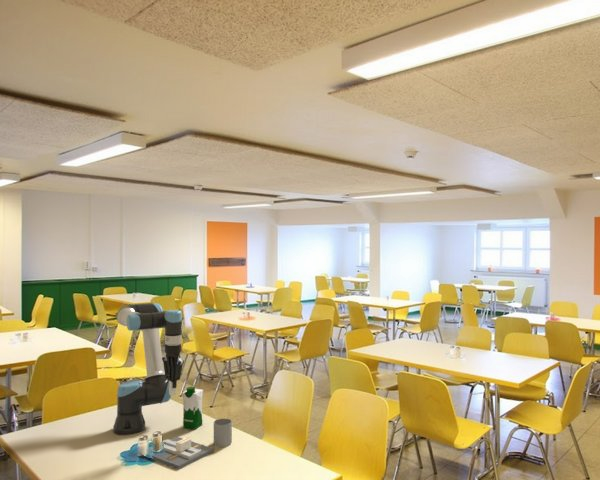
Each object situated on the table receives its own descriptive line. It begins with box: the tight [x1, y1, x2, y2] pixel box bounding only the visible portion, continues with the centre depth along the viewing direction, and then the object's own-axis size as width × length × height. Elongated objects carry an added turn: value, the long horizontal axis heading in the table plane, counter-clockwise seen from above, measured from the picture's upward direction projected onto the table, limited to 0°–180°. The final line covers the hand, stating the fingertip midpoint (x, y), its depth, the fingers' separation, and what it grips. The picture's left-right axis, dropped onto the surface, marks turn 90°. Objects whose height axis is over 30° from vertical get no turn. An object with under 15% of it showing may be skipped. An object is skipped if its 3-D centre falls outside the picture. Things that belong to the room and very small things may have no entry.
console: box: [152, 436, 215, 470], centre depth 206 cm, size 24×20×3 cm
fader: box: [176, 437, 192, 452], centre depth 204 cm, size 3×6×5 cm, turn 146°
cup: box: [213, 418, 233, 448], centre depth 217 cm, size 8×8×10 cm
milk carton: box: [182, 386, 204, 431], centre depth 238 cm, size 9×9×20 cm
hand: (172, 394), depth 217 cm, fingers closed
